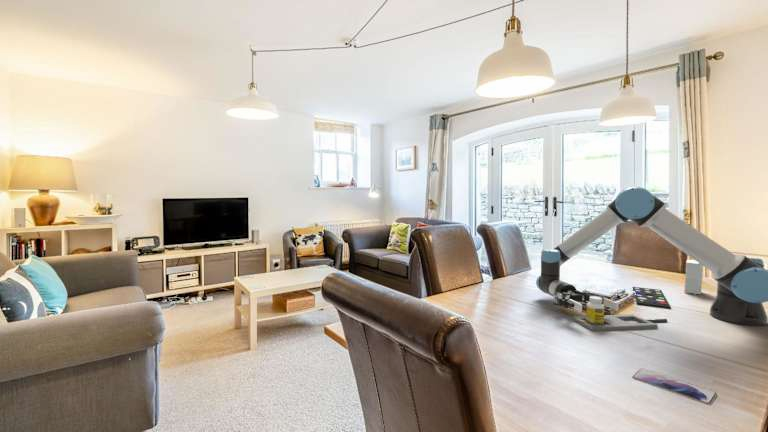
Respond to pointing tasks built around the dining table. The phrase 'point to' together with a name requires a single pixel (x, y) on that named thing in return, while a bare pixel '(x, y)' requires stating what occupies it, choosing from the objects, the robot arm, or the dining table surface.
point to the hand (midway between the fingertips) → (599, 307)
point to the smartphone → (676, 386)
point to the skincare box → (693, 277)
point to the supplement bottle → (595, 311)
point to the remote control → (650, 297)
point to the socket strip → (619, 322)
